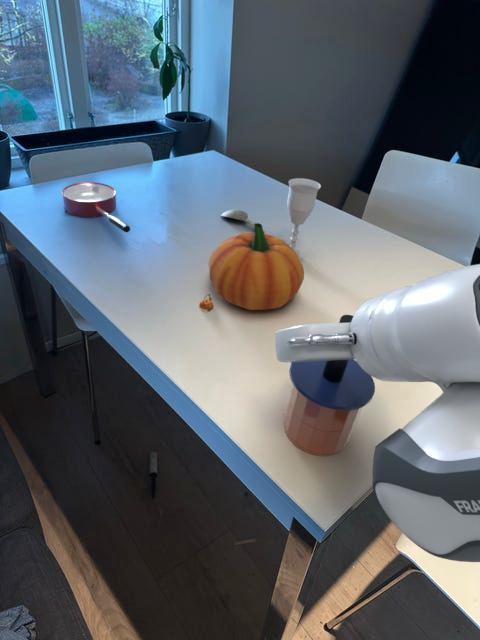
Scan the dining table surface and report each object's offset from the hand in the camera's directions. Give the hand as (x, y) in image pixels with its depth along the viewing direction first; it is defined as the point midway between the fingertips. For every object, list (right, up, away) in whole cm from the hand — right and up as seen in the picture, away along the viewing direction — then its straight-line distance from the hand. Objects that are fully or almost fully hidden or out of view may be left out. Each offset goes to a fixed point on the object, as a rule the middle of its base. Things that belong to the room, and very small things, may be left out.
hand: (339, 346), depth 57 cm
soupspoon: (-10, +27, +60) cm, 66 cm away
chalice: (-1, +18, +50) cm, 53 cm away
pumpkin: (-10, +9, +36) cm, 39 cm away
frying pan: (-46, +28, +55) cm, 77 cm away
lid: (-1, -4, +2) cm, 5 cm away
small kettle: (-19, +6, +30) cm, 36 cm away
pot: (-1, -13, +9) cm, 15 cm away
